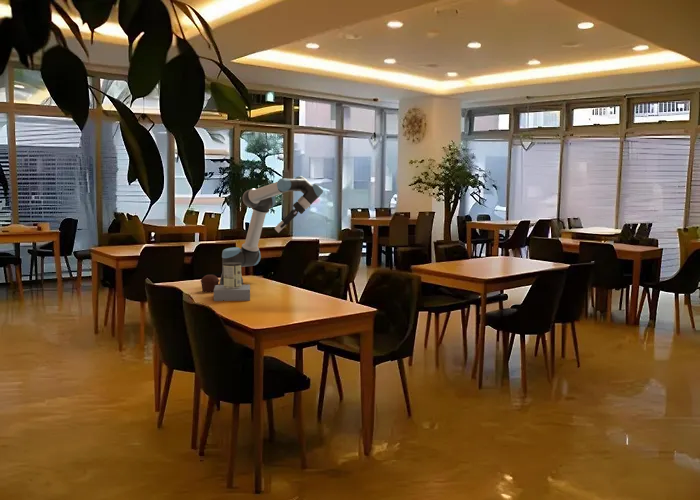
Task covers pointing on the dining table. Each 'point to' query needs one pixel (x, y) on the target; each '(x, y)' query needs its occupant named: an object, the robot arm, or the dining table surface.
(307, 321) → the dining table surface
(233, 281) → the coffee can
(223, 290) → the grey block
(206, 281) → the muffin
